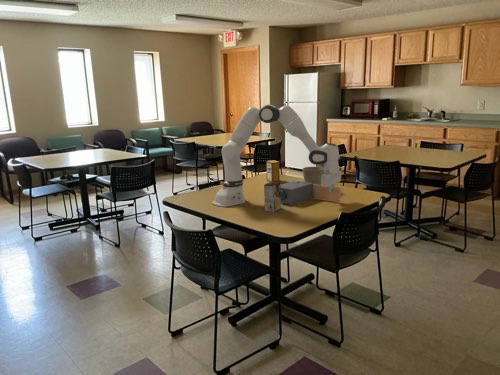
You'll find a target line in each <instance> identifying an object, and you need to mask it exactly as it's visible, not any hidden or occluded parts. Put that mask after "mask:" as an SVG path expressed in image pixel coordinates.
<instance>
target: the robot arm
mask: <svg viewBox="0 0 500 375" xmlns="http://www.w3.org/2000/svg"><path fill="white" fill-rule="evenodd" d="M276 121H277V122H280V124H281V125H282V127H283V128H284V129H285V130H286V132H288V134H290V135H291V136H292V137H293V138H294V137H295V138H297V139H299V140H300V141H301V143H302V144H303V145H304V146H305V147H306V149H307V150H308V152H309V154H308V161H309V162H310V163H311V164H312V165H313V166H314V165H315V166H316V165H317V166H318V165H323V168H324V172H323V175H322V178H321V186H322V187H328V189H329V192H332V191H333V188H334V187H335V184H337V183H340V182H341V180H342V170H343V167H342V166H339V165H340V164H339V158H340V157H339V156H340V154H339V152H340V150H339V147H338V145H337V144H335V143H334V142H333V143H331V142H326V143H325V144H324V145H323V144H322V145H321V146H320V145H319V144H318V143H316V141H315V140H314V138H312V136H311V135H310V133H309V131H308V130H307V128H306V126H305V124H304V121H303V120H302V119H301V117H300V115H299V114H298V113H297V112H296V111H295V110H294V109H293V108H292V107H291V106H290V105H286V104H285V105H283V106H281V107H277V106H276V105H274V104H266V105H263V106H262V107H261V108H260V109H259V108H258V107H255V106H250V107H248V108H247V109H246V110H245V111H244V113H242V116H241V117H240V118H239V121H238V122H237V124H236V125H235V127H234V129H233V131H232V133H231V136H230V137H229V139H228V140H227V142H226V143H224V144H223V146H222V148H221V156H222V163H223V168H224V181H220V182H219V184H220V185H222V187H221V188H220V189H219V190H218V191H217V192H216V194H215V200H213V201H212V202H211V204H212V205H214V206H216V207H221V208H222V207H225V208H227V207H231V206H232V207H233V206H237V205H242V204H245V203H246V198H245V193H244V189H243V188H244V186H243V184H244V180H243V172H242V171H243V170H242V164H241V157H240V155H241V154H242V152H244V149H245V147H246V145H247V144H248V142H249V139H250V138H251V136H252V135H253V133H254V131H255V130H256V128H257V126H258V125H259V124H260V122H263V123H265V124H272V123H274V122H276Z"/></svg>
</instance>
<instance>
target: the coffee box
mask: <svg viewBox="0 0 500 375" xmlns="http://www.w3.org/2000/svg"><path fill="white" fill-rule="evenodd" d="M280 185H281V182H267V183H265V184H264V185H263V188H264V194H263V195H264V196H263V197H264V211H267V212H273V213H274V212H277V211H278V210H280V209H281V208H282V203H281V188H280Z"/></svg>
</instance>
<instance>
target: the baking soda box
mask: <svg viewBox="0 0 500 375" xmlns="http://www.w3.org/2000/svg"><path fill="white" fill-rule="evenodd" d="M265 162H266V163H265V164H266V165H265V166H266V168H265V169H266V181H267V182H268V183H270V182H280V181H281V179H280V161H277V160H266V161H265ZM280 183H281V182H280Z"/></svg>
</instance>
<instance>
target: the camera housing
mask: <svg viewBox="0 0 500 375" xmlns="http://www.w3.org/2000/svg"><path fill="white" fill-rule="evenodd" d="M280 188H281V204H284V205H289V206H293V205H297V204H299V203H303V202H306V201H309V200H311V199H314V198H313V183H309V182H305V181H304V180H303V181H302V180H292V181H289V182H286V183H282V184H281V183H280Z"/></svg>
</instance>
